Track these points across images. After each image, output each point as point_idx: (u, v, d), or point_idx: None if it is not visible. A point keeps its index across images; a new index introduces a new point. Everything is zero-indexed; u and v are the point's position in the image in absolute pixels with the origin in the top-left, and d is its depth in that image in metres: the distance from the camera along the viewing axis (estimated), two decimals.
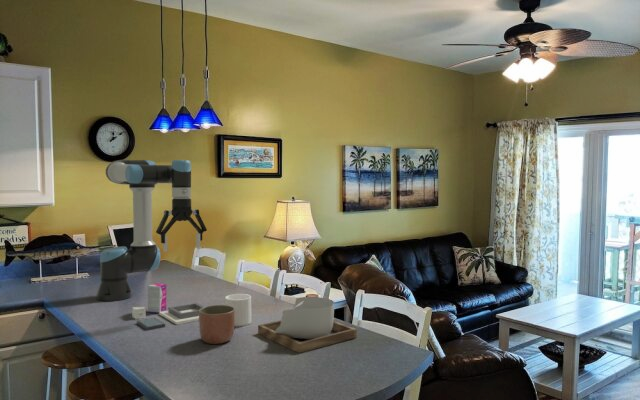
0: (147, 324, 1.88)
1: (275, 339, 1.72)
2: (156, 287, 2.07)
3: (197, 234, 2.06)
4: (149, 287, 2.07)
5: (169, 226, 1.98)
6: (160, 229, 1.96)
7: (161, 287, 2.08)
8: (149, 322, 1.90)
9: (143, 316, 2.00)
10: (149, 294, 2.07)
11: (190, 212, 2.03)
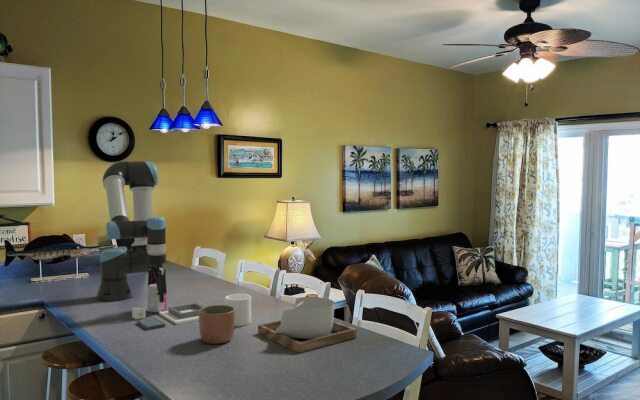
0: (147, 324, 1.88)
1: (275, 339, 1.72)
2: (156, 287, 2.07)
3: None
4: (149, 287, 2.07)
5: (150, 281, 2.12)
6: (148, 283, 2.14)
7: None
8: (149, 322, 1.90)
9: (143, 316, 2.00)
10: (149, 294, 2.07)
11: (156, 269, 2.06)
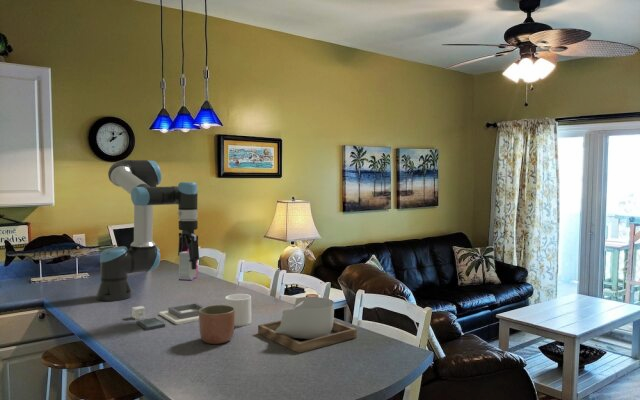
0: (147, 324, 1.88)
1: (275, 339, 1.72)
2: (188, 254, 2.00)
3: None
4: (180, 254, 2.01)
5: (181, 248, 2.05)
6: (178, 251, 2.07)
7: None
8: (149, 322, 1.90)
9: (143, 316, 2.00)
10: (180, 261, 2.01)
11: (188, 235, 1.99)
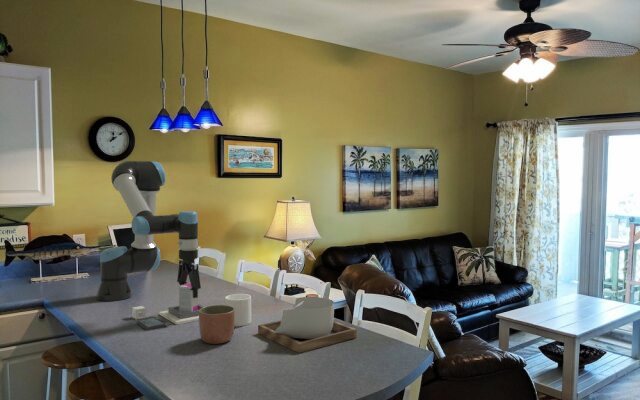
0: (147, 324, 1.88)
1: (275, 339, 1.72)
2: (188, 288, 2.01)
3: None
4: (180, 288, 2.01)
5: (181, 276, 2.06)
6: (178, 278, 2.09)
7: None
8: (149, 322, 1.90)
9: (143, 316, 2.00)
10: (180, 295, 2.01)
11: (189, 264, 2.00)
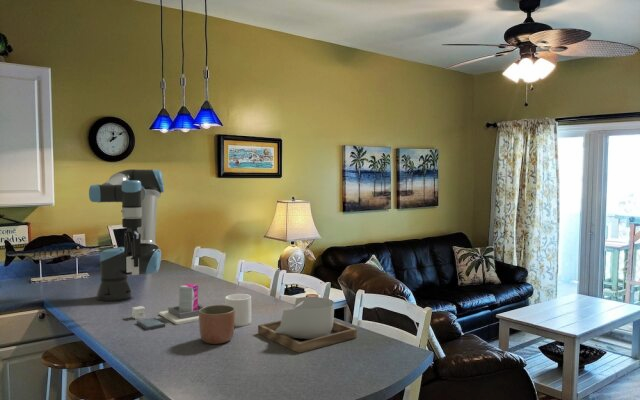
0: (147, 324, 1.88)
1: (275, 339, 1.72)
2: (188, 288, 2.01)
3: None
4: (181, 288, 2.01)
5: (126, 247, 2.07)
6: (124, 249, 2.10)
7: (193, 288, 2.02)
8: (149, 322, 1.90)
9: (143, 316, 2.00)
10: (181, 295, 2.01)
11: (132, 233, 2.02)
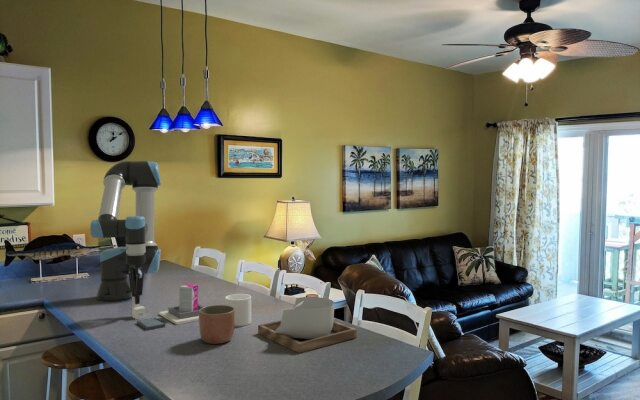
0: (147, 324, 1.88)
1: (275, 339, 1.72)
2: (188, 288, 2.01)
3: None
4: (181, 288, 2.01)
5: (132, 284, 2.03)
6: (130, 288, 2.05)
7: (193, 288, 2.02)
8: (149, 322, 1.90)
9: (143, 316, 2.00)
10: (181, 295, 2.01)
11: (135, 270, 1.99)
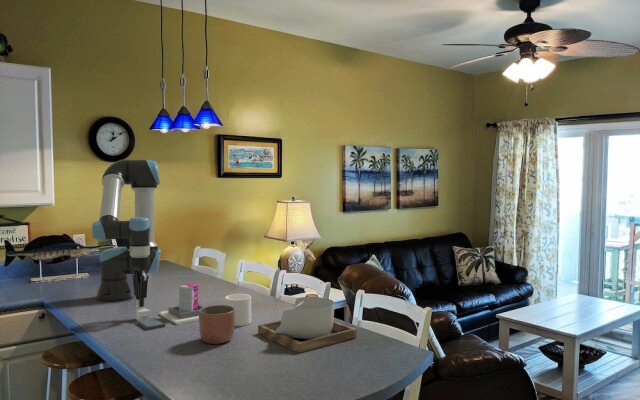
0: (147, 324, 1.88)
1: (275, 339, 1.72)
2: (188, 288, 2.01)
3: None
4: (181, 288, 2.01)
5: (136, 287, 2.00)
6: (134, 290, 2.01)
7: (193, 288, 2.02)
8: (149, 322, 1.90)
9: None
10: (181, 295, 2.01)
11: (139, 272, 1.96)
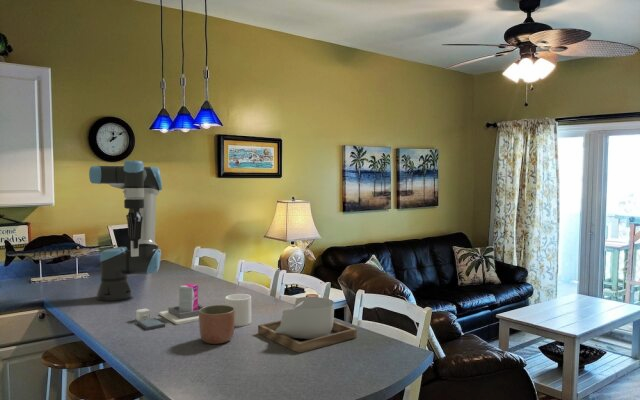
0: (147, 324, 1.88)
1: (275, 339, 1.72)
2: (188, 288, 2.01)
3: None
4: (181, 288, 2.01)
5: (130, 229, 2.03)
6: (128, 233, 2.05)
7: (193, 288, 2.02)
8: (149, 322, 1.90)
9: None
10: (181, 295, 2.01)
11: (134, 213, 1.99)
